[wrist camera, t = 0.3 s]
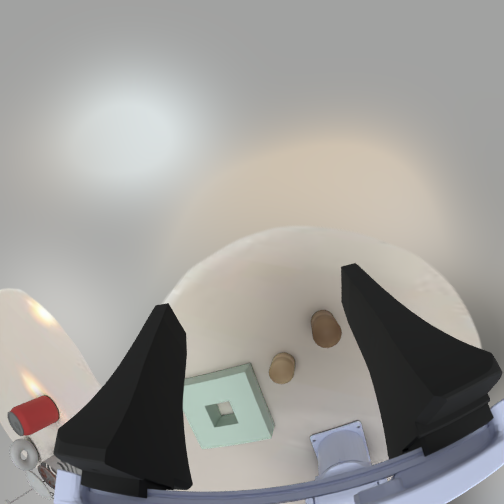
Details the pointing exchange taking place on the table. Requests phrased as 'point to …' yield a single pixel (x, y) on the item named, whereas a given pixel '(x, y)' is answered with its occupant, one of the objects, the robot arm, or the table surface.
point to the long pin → (325, 329)
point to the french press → (47, 476)
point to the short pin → (282, 368)
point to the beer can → (33, 415)
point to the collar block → (242, 402)
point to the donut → (16, 454)
